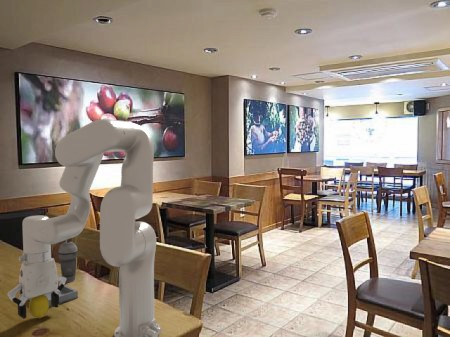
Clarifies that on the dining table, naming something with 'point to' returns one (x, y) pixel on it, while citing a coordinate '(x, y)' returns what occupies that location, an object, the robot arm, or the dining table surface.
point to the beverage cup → (68, 260)
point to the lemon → (39, 306)
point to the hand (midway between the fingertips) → (39, 311)
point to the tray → (63, 295)
